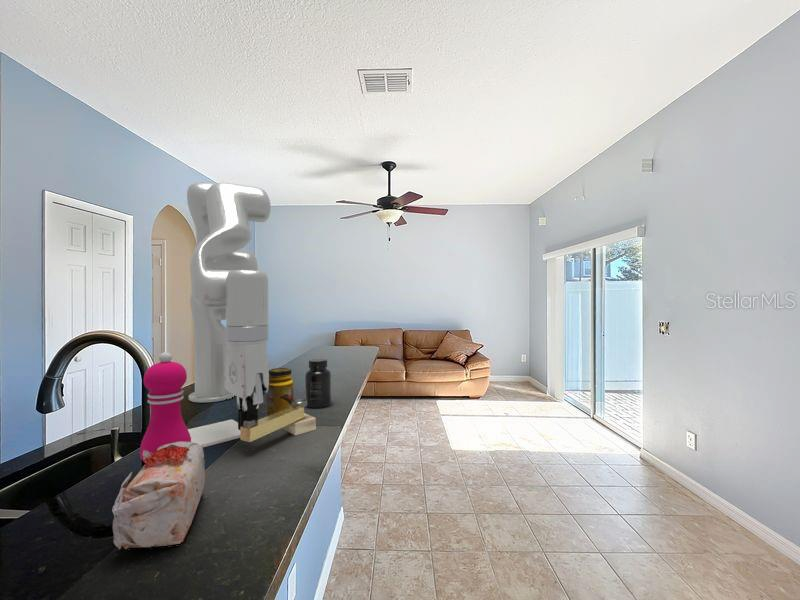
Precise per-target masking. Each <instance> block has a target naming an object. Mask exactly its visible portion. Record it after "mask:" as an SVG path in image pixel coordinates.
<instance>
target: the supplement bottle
mask: <svg viewBox="0 0 800 600" xmlns="http://www.w3.org/2000/svg"><path fill="white" fill-rule="evenodd" d="M327 367H328V359H325V358H313V359H309V360H308V368H309V369H308V370H306V372H305V374H304V393H305V394H304V396H305V398H304V399H305V400H307V406H308V408H309V407H313V408H312V409H322V408H326V407H330V406H331V404H332V373H331V370H329V369H328V368H327ZM307 406H306V407H307Z"/></svg>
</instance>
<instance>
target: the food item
mask: <svg viewBox="0 0 800 600" xmlns="http://www.w3.org/2000/svg"><path fill="white" fill-rule="evenodd" d="M144 451H145V452H144ZM142 455H143V456H144V457H143V459H144V460H146V461H143V463H145V464H144V465H142V467H141V468H140V470H139V471H138V472H137V474H136V475H135V477H133V479H132V475H133V471H131V472H130V473H129V474H128V476H126V478H125V479H124V480H123V482H122V484H121V487H120V488H119V489H120V490H119V493H118V495H117V497H116V498H115V501H114V505H112V510H111V511H112V514H113V517H114V518H113V520H112V533H113V544H114V546H115V547H116V548H117V549H118V550H121V549H122V548H124V550H126V549H127V548H129V547H151V546H167V545H173V544H180V543H181V542H182V543H183V542H184V540H185V538H186V535H187V534H188V531H189V530H190V527H191V525H192V522H193V520H194V517H195V515H196V511H197V508H198V506H199V503H200V501H201V498H202V495H203V492H204V490H205V489H204V488H205V485H206V469H205V464H206V461H205V452H204V447H203V445H200V444H198V443H194V442H175V443H170V444H166V445H162V446H160V447H159V448H158V449H157V450H156V452H154V453H152V452H148V451H147V450H143V454H142ZM131 479H132V480H131ZM130 480H131V481H130ZM129 481H130V482H129Z"/></svg>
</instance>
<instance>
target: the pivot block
mask: <svg viewBox="0 0 800 600" xmlns="http://www.w3.org/2000/svg"><path fill="white" fill-rule="evenodd" d="M283 430H284V431H285V432H288V433H289V434H292V435H293V436H299V435H302V434H306V433H309V432H312V431H316V430H317V418H316V417H315V416H313V415H310V414H308V413H305V412H304V418H302V419H300V420H297V421H295V422H293V423H291V424H289V425H287V426H284V427H283Z"/></svg>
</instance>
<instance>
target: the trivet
mask: <svg viewBox="0 0 800 600" xmlns="http://www.w3.org/2000/svg"><path fill="white" fill-rule="evenodd" d="M187 429H188V431H189V433H190V436H191V442H194V443H198V444H200V445H203V448H206V447H210V446H214V445H217V444H218V445H219V444H221V443H222V444H223V443H225V442H229V441H232V440H237V439H240V430H239V429H238V421H236V420H234V419H227V420H224V421H217V422H214V423H210V424H205V425H202V426H198V427H197V426H196V427H193V428H187Z"/></svg>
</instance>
